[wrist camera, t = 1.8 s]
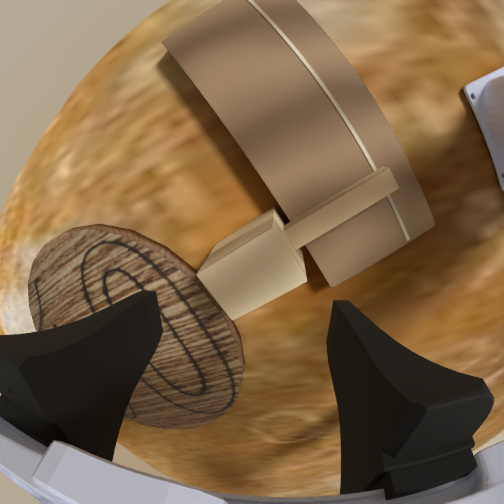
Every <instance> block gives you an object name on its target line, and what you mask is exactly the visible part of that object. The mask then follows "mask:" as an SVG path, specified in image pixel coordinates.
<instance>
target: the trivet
mask: <svg viewBox="0 0 504 504" xmlns="http://www.w3.org/2000/svg"><path fill="white" fill-rule="evenodd" d="M197 273H198V271H197V270H195V269H194V268H193V267H192V266H190V265H189V264H188V263H186V262H185V261H184V260H183V259H181V258H180V257H179V256H178V255H176V254H175V253H174V252H173V251H171V250H170V249H169V248H168V247H166V246H164V245H162V244H160V243H158V242H156V241H154V240H152V239H150V238H148V237H145V236H143V235H141V234H139V233H137V232H135V231H133V230H130V229H125V228H119V227H114V226H109V225H103V224H95V225H88V226H82V227H75V228H72V229H70V230H68V231H66V232H64V233H62V234H61V235H59V236H58V237H56V238H54V239H53V240H51V241H50V242H48V243H47V244H45V245H44V246H43V248H42V249H41V251H40V252H39V254H38V255H37V257H36V258H35V260H34V261H33V264H32V268H31V272H30V277H29V281H28V296H29V307H30V311H31V315H32V319H33V322H34V326H35V329H36V331H37V332H38V331H43V330H47V329H51V328H55V327H59V326H62V325H66V324H69V323H71V322H74V321H77V320H80V319H82V318H85V317H87V316H89V315H91V314H94V313H96V312H98V311H100V310H102V309H104V308H106V307H108V306H110V305H112V304H114V303H116V302H118V301H120V300H122V299H124V298H126V297H128V296H130V295H132V294H135V293H137V292H139V291H142V290H149V291H156V293H157V299H158V305H159V310H160V316H161V321H162V327H163V333H162V336H161V339H160V342H159V344H158V347H157V349H156V351H155V353H154V355H153V357H152V359H151V360H150V362H149V364H148V366H147V368H146V369H145V371H144V373H143V375H142V377H141V378H140V380H139V382H138V384H137V386H136V388H135V390H134V392H133V394H132V396H131V399H130V401H129V404H128V407H127V409H126V412H125V415H124V418H126V419H129V420H131V421H134V422H137V423H140V424H143V425H147V426H152V427H158V428H164V429H189V428H193V427H197V426H201V425H205V424H209V423H210V422H212V421H214V420H215V419H217V418H219V417H220V416H222V415H223V414H225V413H226V412H227V411H228V409H229V408H230V407H231V405H232V404H233V403H234V401H235V400H236V399H237V397H238V394H239V389H240V385H241V380H242V375H243V370H244V365H245V361H244V355H243V349H242V342H241V336H240V333H239V331H238V329H237V327H236V325H235V323H234V321H232V320H231V318H230V317H229V316H228V315H227V313H226V312H225V311H224V310H223V308H222V307H221V306H220V305H219V303H218V302H217V301H216V300H215V298H214V297H213V296H212V295H211V293H210V292H209V291H208V289H207V288H206V287H205V286H204V284H203V283H202V282H201V280H200V279H199V278H198V276H197V275H196V274H197Z"/></svg>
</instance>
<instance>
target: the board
mask: <svg viewBox="0 0 504 504" xmlns="http://www.w3.org/2000/svg"><path fill="white" fill-rule="evenodd" d="M162 44H163V45H164V46H165V47H166V49H167V50H168V51H169V52H170V53H171V55H172V56H173V57H174V59H175V60H176V61H177V62H178V64H179V65H180V66H181V67H182V69H183V70H184V71H185V73H186V74H187V75H188V76H189V78H190V79H191V80H192V82H193V83H194V84H195V86H196V87H197V88H198V90H199V91H200V92H201V94H202V95H203V96H204V98H205V99H206V100H207V102H208V103H209V104H210V106H211V107H212V108H213V110H214V111H215V112H216V114H217V115H218V117H219V118H220V119H221V121H222V122H223V123H224V125H225V126H226V128H227V129H228V130H229V132H230V133H231V135H232V136H233V137H234V139H235V140H236V142H237V143H238V144H239V146H240V147H241V149H242V150H243V152H244V153H245V155H246V156H247V157H248V159H249V160H250V162H251V163H252V165H253V166H254V168H255V169H256V170H257V172H258V173H259V175H260V176H261V178H262V179H263V181H264V182H265V184H266V185H267V187H268V188H269V190H270V191H271V193H272V194H273V196H274V197H275V199H276V200H277V202H278V203H279V205H280V206H281V208H282V210H283V211H284V213H285V214H286V216H287V217H288V219H289V220H290V222H291V221H292V220H294V219H296V218H297V217H299V216H301V215H302V214H304V213H306V212H307V211H309V210H311V209H312V208H314V207H316V206H317V205H319V204H320V203H322V202H324V201H325V200H327V199H329V198H330V197H332V196H334V195H335V194H337V193H339V192H340V191H342V190H344V189H345V188H347V187H349V186H350V185H352V184H354V183H355V182H357V181H359V180H360V179H362V178H364V177H365V176H367V175H369V174H370V173H372V172H374V171H376V170H377V169H379V168H381V167H382V166H383V167H388V168H390V170H391V172H392V174H393V176H394V178H395V180H396V182H397V184H398V187H399V189H397V190H396V191H394V192H392V193H391V194H389V195H387V196H386V197H384V198H382V199H381V200H379V201H378V202H376V203H374V204H373V205H371V206H369V207H368V208H366V209H364V210H363V211H361V212H359V213H358V214H356V215H354V216H353V217H351V218H349V219H348V220H346V221H344V222H343V223H341V224H339V225H338V226H336V227H334V228H333V229H331V230H329V231H328V232H326V233H324V234H323V235H321V236H319V237H317V238H316V239H314V240H312V241H311V242H309V243H307V244H306V245H305V246H306V247H307V249H308V250H309V252H310V254H311V255H312V257H313V258H314V260H315V262H316V263H317V265H318V267H319V268H320V270H321V272H322V273H323V275H324V276H325V278H326V280H327V281H328V283H329V285H330V286H331V288H333V287H335V286H337V285H338V284H340V283H342V282H344V281H346V280H347V279H349V278H351V277H353V276H354V275H356V274H358V273H360V272H361V271H363V270H365V269H366V268H368V267H370V266H371V265H373V264H375V263H376V262H378V261H380V260H381V259H383V258H385V257H386V256H388V255H390V254H391V253H393V252H395V251H396V250H398V249H399V248H401V247H403V246H404V245H406V244H407V243H409V242H411V241H412V240H414V239H415V238H417V237H418V236H420V235H421V234H423V233H425V232H426V231H428V230H429V229H431V228H432V227H434V226H435V225H436V224H435V221H434V218H433V216H432V213H431V210H430V208H429V205H428V203H427V200H426V198H425V196H424V193H423V191H422V189H421V186H420V184H419V182H418V180H417V177H416V175H415V173H414V171H413V169H412V167H411V164H410V162H409V160H408V158H407V156H406V154H405V152H404V150H403V148H402V147H401V145H400V143H399V141H398V139H397V137H396V135H395V133H394V132H393V130H392V128H391V126H390V124H389V123H388V121H387V119H386V118H385V116H384V114H383V112H382V111H381V109H380V108H379V106H378V104H377V103H376V101H375V99H374V98H373V96H372V95H371V93H370V92H369V90H368V89H367V87H366V86H365V84H364V83H363V81H362V80H361V78H360V77H359V75H358V74H357V73H356V71H355V70H354V68H353V67H352V66H351V64H350V63H349V62H348V60H347V59H346V58H345V56H344V55H343V54H342V52H341V51H340V50H339V48H338V47H337V46H336V45H335V43H334V42H333V41H332V40H331V38H330V37H329V36H328V35H327V34H326V32H325V31H324V30H323V29H322V28H321V27H320V25H319V24H318V23H317V22H316V21H315V20H314V19H313V18H312V16H311V15H310V14H309V13H308V12H307V11H306V10H305V9H304V8H303V7H302V6H301V5H300V4H299V3H298V2H297V1H296V0H223V1H222V2H220V3H218V4H216V5H215V6H213V7H211V8H210V9H208V10H207V11H205V12H203V13H202V14H200V15H199V16H197V17H195V18H194V19H192V20H191V21H189V22H188V23H186V24H185V25H184V26H182V27H181V28H179V29H178V30H176V31H175V32H174V33H172V34H171V35H170V36H168V37H167V38H166V39H164V40H163V41H162Z"/></svg>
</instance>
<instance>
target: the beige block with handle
mask: <svg viewBox="0 0 504 504" xmlns="http://www.w3.org/2000/svg"><path fill="white" fill-rule="evenodd" d="M397 189H399V187H398V184H397V182H396V180H395V178H394V176H393V174H392V172H391V170H390V168H388V167H383V166H382V167H381V168H379V169H377V170H376V171H374V172H372V173H370V174H369V175H367V176H365V177H364V178H362V179H360V180H359V181H357V182H355V183H354V184H352V185H350V186H349V187H347V188H345V189H344V190H342V191H340V192H339V193H337V194H335V195H334V196H332V197H330V198H329V199H327V200H325V201H324V202H322V203H320V204H319V205H317V206H316V207H314V208H312V209H311V210H309V211H307V212H306V213H304V214H302V215H301V216H299V217H297V218H296V219H294V220H292V221H291V222H289V223H287V224H286V223H285V221H284V219H283V218H282V216H281V215H280V213H279V212H278V210H277V209H276V207H275V206H274V207H273V208H271V209H270V210H268V211H266V212H265V213H263V214H262V215H260V216H258V217H257V218H255V219H254V220H252V221H251V222H249V223H247V224H246V225H244V226H243V227H241V228H240V229H238V230H236V231H235V232H233V233H232V234H230V235H229V236H227V237H225V238H224V239H222V240H221V241H219V242H218V243H217V244H216V245H215V247H214V248H213V250H212V251H211V253H210V254H209V256H208V257H207V259H206V260H205V262H204V263H203V265H202V267H201V268H200V270H199V271H198V273H197V274H196V275H197V276H198V278H199V279H200V280H201V282H202V283H203V284H204V286H205V287H206V288H207V289H208V291H209V292H210V293H211V295H212V296H213V297H214V298H215V300H216V301H217V302H218V303H219V305H220V306H221V307H222V308H223V310H224V311H225V312H226V313H227V315H228V316H229V317H230V318H231V320H232V321H233V320H235V319H237V318H239V317H241V316H243V315H245V314H247V313H249V312H251V311H252V310H254V309H256V308H258V307H260V306H262V305H264V304H266V303H268V302H270V301H272V300H274V299H275V298H277V297H279V296H281V295H283V294H285V293H287V292H289V291H290V290H292V289H294V288H296V287H298V286H300V285H301V284H303V283H305V282H307V277H306V271H305V265H304V260H303V254H302V249H301V247H302V246H304V245H306V244H307V243H309V242H311V241H312V240H314V239H316V238H317V237H319V236H321V235H323V234H324V233H326V232H328V231H329V230H331V229H333V228H334V227H336V226H338V225H339V224H341V223H343V222H344V221H346V220H348V219H349V218H351V217H353V216H354V215H356V214H358V213H359V212H361V211H363V210H364V209H366V208H368V207H369V206H371V205H373V204H374V203H376V202H378V201H379V200H381V199H382V198H384V197H386V196H387V195H389V194H391V193H392V192H394V191H396V190H397Z"/></svg>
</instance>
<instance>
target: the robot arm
mask: <svg viewBox="0 0 504 504" xmlns="http://www.w3.org/2000/svg"><path fill="white" fill-rule="evenodd" d="M463 90H464V93H465V95H466V97H467V99H468V101H469V103H470V105H471V107H472V110H473V112H474V114H475V116H476V118H477V121H478V123H479V125H480V128H481V130H482V133H483V135H484V138H485V140H486V143H487V146H488V148H489V151H490V154H491V157H492V160H493V163H494V166H495V169H496V172H497V176H498V179H499V183H500V186H501V189H502V190H503V191H504V67H502V68H500V69H498V70H495V71H493V72H491V73H489V74H487V75H485V76H483V77H481V78H479V79H477V80H475V81H473V82H471V83H469V84H467V85H465V86H464V88H463ZM471 95H472V96H473V99H472V98H471ZM502 174H503V176H502ZM162 333H163V327H162V321H161V316H160V310H159V305H158V299H157V293H156V291H149V290H142V291H139V292H137V293H135V294H132V295H130V296H128V297H126V298H124V299H122V300H120V301H118V302H116V303H114V304H112V305H110V306H108V307H106V308H104V309H102V310H100V311H98V312H96V313H94V314H91V315H89V316H87V317H85V318H82V319H80V320H77V321H74V322H71V323H69V324H66V325H62V326H59V327H55V328H51V329H47V330H43V331H38V332H32V333H25V334H15V335H0V393H1V394H2V395H1V396H0V471H1V472H2V473H4V474H5V475H6V476H7V477H8V478H10V479H11V480H12V481H13V482H15V483H16V484H17V485H18V486H20V487H21V488H22V489H24V490H25V491H26V492H28V493H29V494H31V495H32V496H33V497H35V498H36V499H38V500H39V501H41V502H40V504H504V441H500V442H499V443H496V444H494V445H492V446H490V447H488V448H485V449H483V450H481V451H479V452H478V453H476V454H475V455H474V456H473V453H472V450H471V448H473V447H474V446H475V442H474V440H473V437H472V436H473V435H474V433H475V432H476V431H477V430H478V428H479V427H480V426H481V425H482V423H483V422H484V421H485V419H486V418H487V417H488V415H489V413H490V412H491V409H492V407H493V404H494V397H493V395H492V393H491V392H490V390H489V388H488V387H487V385H486V383H485V382H484V380H483V379H482V378H478V377H474V376H470V375H467V374H463V373H459V372H456V371H453V370H451V369H448V368H445V367H443V366H440V365H438V364H436V363H433V362H431V361H429V360H427V359H425V358H423V357H421V356H419V355H418V354H416V353H414V352H412V351H411V350H409V349H408V348H406V347H404V346H403V345H401V344H400V343H398V342H397V341H395V340H394V339H393V338H391V337H390V336H389V335H387V334H386V333H385V332H384V331H382V330H381V329H380V328H379V327H377V326H376V325H375V324H374V323H373V322H372V321H371V320H369V319H368V318H367V317H366V316H365V315H364V314H363V313H362V312H361V311H360V310H359V309H357V308H356V307H355V306H354V305H353V304H352V303H351V302H349V301H345V300H333V306H332V313H331V319H330V325H329V330H328V336H327V354H328V363H329V368H330V372H331V377H332V381H333V386H334V391H335V395H336V400H337V405H338V411H339V420H340V436H341V486H340V495H333V496H319V497H262V496H248V495H237V494H228V493H220V492H214V491H207V490H204V489H202V488H199V487H195V486H192V485H188V484H185V483H181V482H178V481H174V480H171V479H166V478H162V477H158V476H154V475H151V474H148V473H144V472H141V471H138V470H134V469H131V468H128V467H125V466H122V465H119V464H117V463H114V462H112V460H113V455H114V450H115V446H116V442H117V438H118V434H119V431H120V427H121V424H122V421H123V418H124V415H125V412H126V409H127V407H128V404H129V401H130V399H131V396H132V394H133V392H134V390H135V388H136V386H137V384H138V382H139V380H140V378H141V377H142V375H143V373H144V371H145V369H146V368H147V366H148V364H149V362H150V360H151V359H152V357H153V355H154V353H155V351H156V349H157V347H158V344H159V342H160V339H161V336H162Z"/></svg>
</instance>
